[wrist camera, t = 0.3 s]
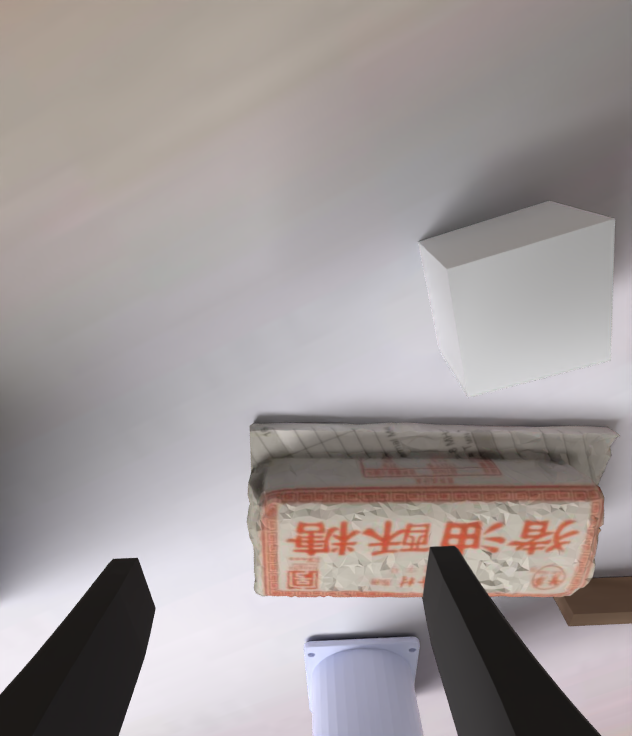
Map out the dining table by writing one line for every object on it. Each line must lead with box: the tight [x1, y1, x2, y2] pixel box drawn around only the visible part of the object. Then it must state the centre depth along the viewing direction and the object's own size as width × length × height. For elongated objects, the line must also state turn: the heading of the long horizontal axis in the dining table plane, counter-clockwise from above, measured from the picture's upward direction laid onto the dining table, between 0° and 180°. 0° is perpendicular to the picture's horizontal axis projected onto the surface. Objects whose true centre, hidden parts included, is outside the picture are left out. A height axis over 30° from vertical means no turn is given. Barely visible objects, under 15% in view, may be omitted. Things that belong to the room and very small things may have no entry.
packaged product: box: [247, 422, 620, 597], centre depth 21 cm, size 18×5×10 cm
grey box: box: [418, 201, 615, 398], centre depth 16 cm, size 5×5×4 cm
